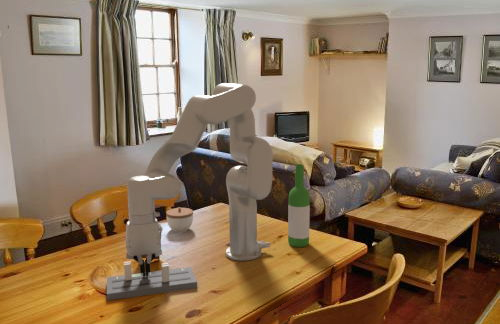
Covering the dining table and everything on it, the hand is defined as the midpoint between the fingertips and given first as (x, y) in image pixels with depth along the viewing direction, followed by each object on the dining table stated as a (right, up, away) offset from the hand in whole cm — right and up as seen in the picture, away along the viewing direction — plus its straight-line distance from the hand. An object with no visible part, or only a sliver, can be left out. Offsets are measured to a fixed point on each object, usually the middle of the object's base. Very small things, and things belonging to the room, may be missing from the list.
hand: (145, 274), depth 145 cm
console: (+2, -3, -1) cm, 4 cm away
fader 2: (+7, -1, -3) cm, 7 cm away
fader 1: (-5, -1, -1) cm, 5 cm away
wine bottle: (+50, +4, +31) cm, 59 cm away
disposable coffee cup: (-2, +1, +18) cm, 18 cm away
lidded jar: (+4, +7, +46) cm, 47 cm away
